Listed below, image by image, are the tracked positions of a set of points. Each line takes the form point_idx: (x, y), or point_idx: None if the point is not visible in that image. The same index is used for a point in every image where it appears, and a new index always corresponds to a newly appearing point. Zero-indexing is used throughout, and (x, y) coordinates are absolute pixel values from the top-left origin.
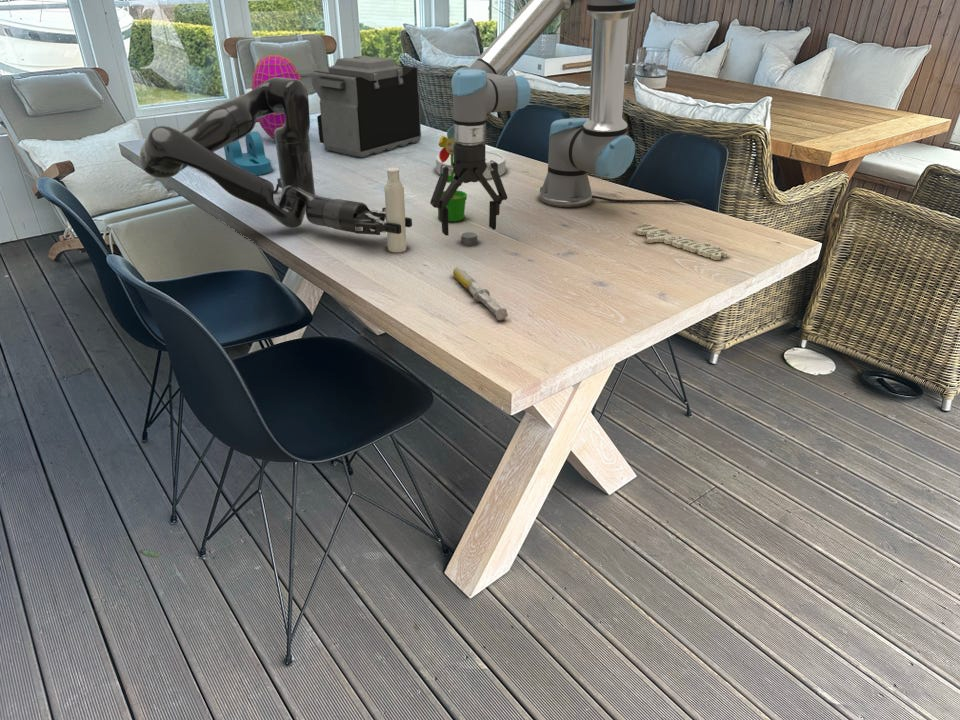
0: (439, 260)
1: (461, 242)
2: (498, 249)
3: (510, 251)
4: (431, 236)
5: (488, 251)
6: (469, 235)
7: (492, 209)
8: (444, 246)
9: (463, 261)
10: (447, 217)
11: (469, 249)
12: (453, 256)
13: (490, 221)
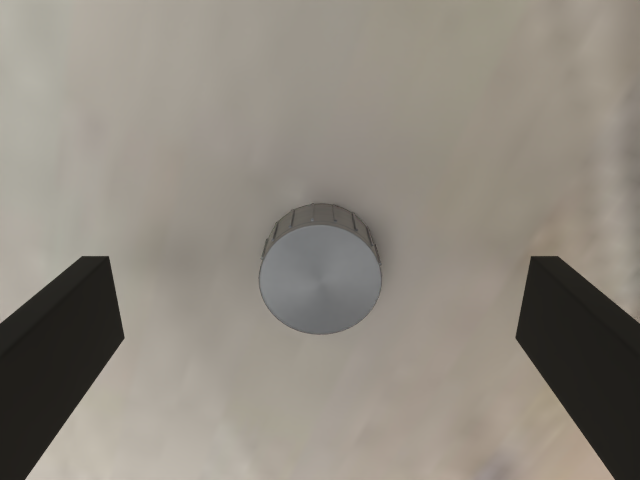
0: (71, 431)
1: (267, 241)
2: (447, 398)
3: (494, 439)
4: (67, 13)
5: (379, 405)
6: (316, 296)
7: (625, 458)
8: (136, 255)
9: (197, 474)
10: (26, 462)
11: (283, 348)
12: (159, 408)
13: (551, 311)
